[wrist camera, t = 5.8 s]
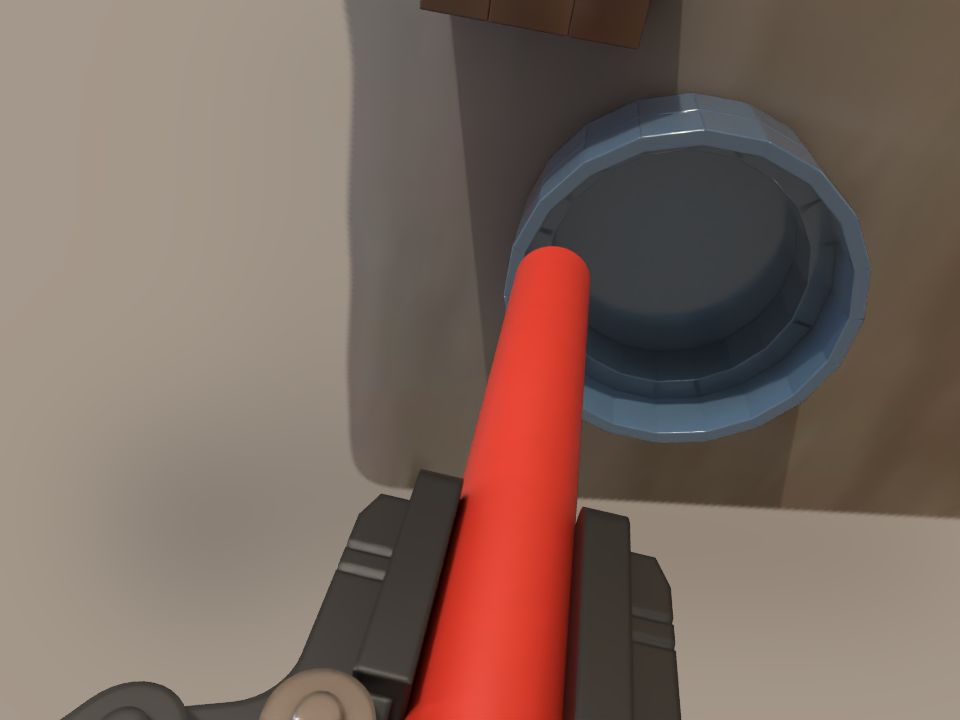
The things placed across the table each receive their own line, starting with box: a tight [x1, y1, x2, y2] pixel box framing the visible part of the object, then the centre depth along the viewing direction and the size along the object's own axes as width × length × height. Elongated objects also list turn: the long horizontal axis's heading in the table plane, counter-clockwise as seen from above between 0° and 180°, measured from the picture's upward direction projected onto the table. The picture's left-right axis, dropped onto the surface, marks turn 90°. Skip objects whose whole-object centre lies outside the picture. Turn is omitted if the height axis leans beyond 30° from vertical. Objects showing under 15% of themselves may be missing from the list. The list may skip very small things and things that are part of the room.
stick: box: [404, 246, 590, 720], centre depth 13 cm, size 2×2×14 cm
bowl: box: [503, 93, 871, 443], centre depth 32 cm, size 14×14×6 cm
